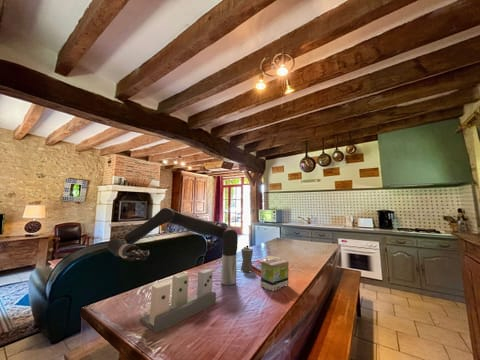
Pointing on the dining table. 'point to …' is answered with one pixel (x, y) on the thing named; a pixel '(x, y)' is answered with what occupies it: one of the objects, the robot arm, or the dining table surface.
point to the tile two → (179, 290)
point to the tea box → (274, 274)
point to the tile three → (204, 282)
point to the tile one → (159, 300)
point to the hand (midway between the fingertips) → (145, 257)
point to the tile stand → (180, 312)
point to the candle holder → (271, 257)
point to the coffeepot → (247, 259)
